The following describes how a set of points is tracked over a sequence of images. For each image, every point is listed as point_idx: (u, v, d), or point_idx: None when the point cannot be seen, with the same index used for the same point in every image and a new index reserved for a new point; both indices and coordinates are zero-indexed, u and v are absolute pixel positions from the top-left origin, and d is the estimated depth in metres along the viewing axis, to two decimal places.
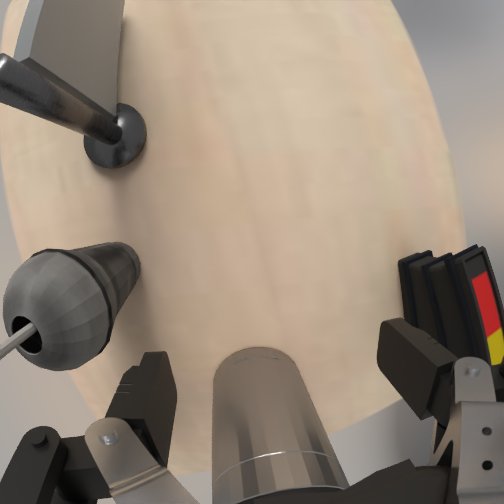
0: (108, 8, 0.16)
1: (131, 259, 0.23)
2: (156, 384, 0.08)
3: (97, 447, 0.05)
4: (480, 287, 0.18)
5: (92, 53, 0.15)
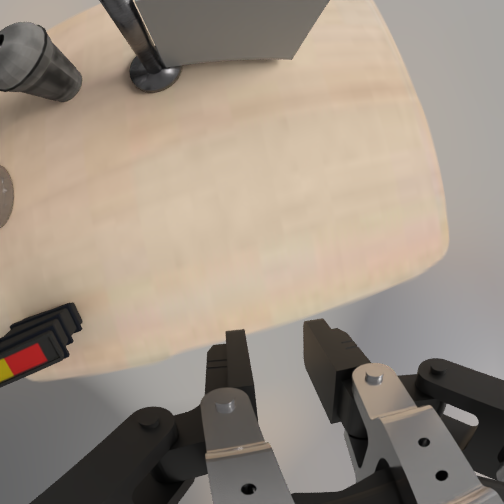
0: (260, 43, 0.24)
1: (62, 94, 0.25)
2: None
3: (220, 415, 0.06)
4: (35, 353, 0.22)
5: (196, 39, 0.21)
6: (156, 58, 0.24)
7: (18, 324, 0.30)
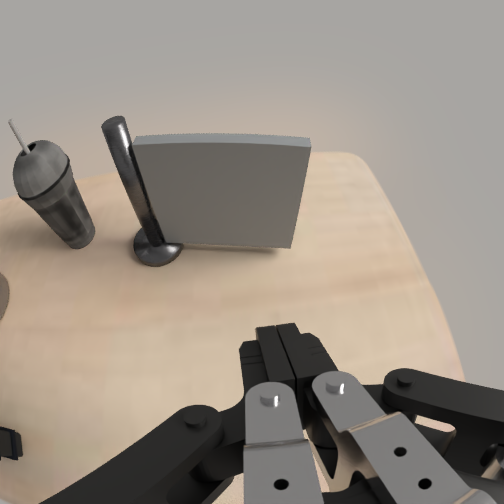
0: (254, 223, 0.29)
1: (72, 238, 0.32)
2: None
3: (268, 409, 0.06)
4: None
5: (190, 208, 0.28)
6: (156, 227, 0.31)
7: None
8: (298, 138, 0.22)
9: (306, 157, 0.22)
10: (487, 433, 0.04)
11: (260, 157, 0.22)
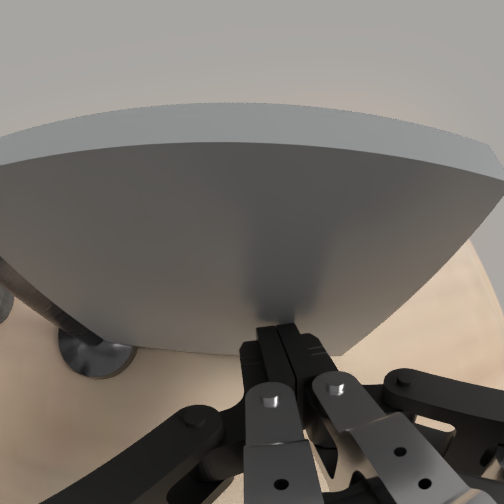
0: None
1: None
2: None
3: (268, 409, 0.06)
4: None
5: (125, 313, 0.11)
6: (79, 324, 0.14)
7: None
8: (465, 141, 0.05)
9: (482, 213, 0.05)
10: (487, 433, 0.04)
11: (332, 207, 0.05)
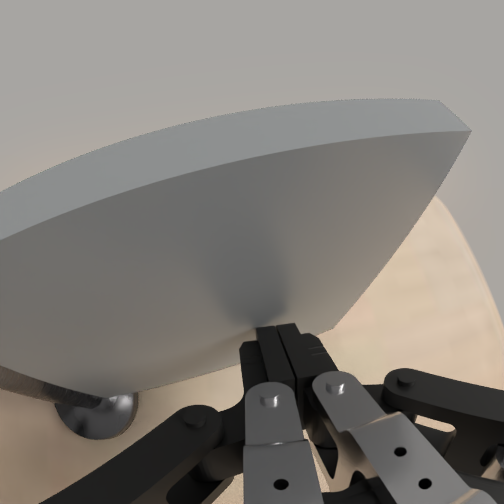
0: None
1: None
2: None
3: (267, 409, 0.06)
4: None
5: (124, 366, 0.10)
6: (73, 398, 0.12)
7: None
8: (422, 103, 0.05)
9: (449, 162, 0.06)
10: (487, 433, 0.04)
11: (330, 197, 0.05)
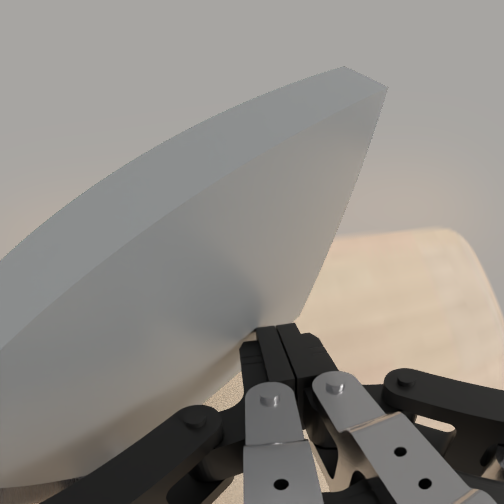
0: None
1: None
2: None
3: (267, 409, 0.06)
4: None
5: (124, 436, 0.08)
6: None
7: None
8: (330, 75, 0.05)
9: (372, 126, 0.06)
10: (487, 433, 0.04)
11: (267, 210, 0.05)
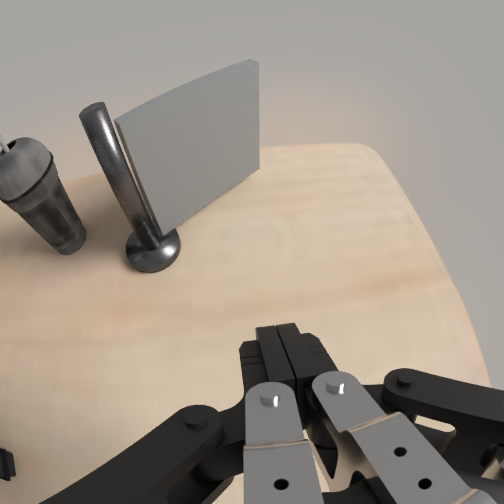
0: (231, 158, 0.30)
1: (60, 243, 0.29)
2: None
3: (267, 409, 0.06)
4: None
5: (180, 174, 0.26)
6: (149, 229, 0.27)
7: None
8: (244, 61, 0.23)
9: (257, 72, 0.24)
10: (487, 433, 0.04)
11: (228, 86, 0.23)
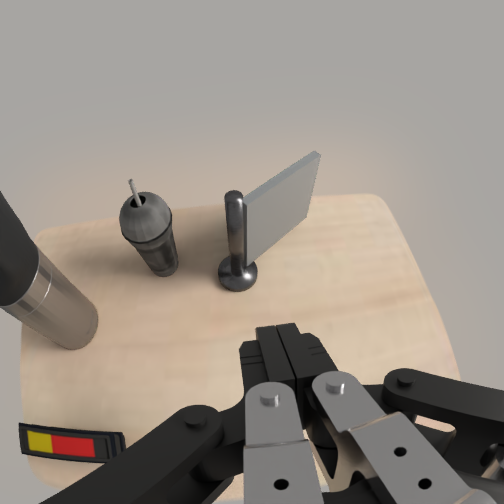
0: (293, 214, 0.46)
1: (164, 269, 0.44)
2: None
3: (267, 410, 0.06)
4: (85, 446, 0.22)
5: (266, 228, 0.42)
6: (242, 263, 0.43)
7: (61, 429, 0.29)
8: (311, 153, 0.39)
9: (318, 161, 0.40)
10: (487, 433, 0.04)
11: (302, 173, 0.39)
